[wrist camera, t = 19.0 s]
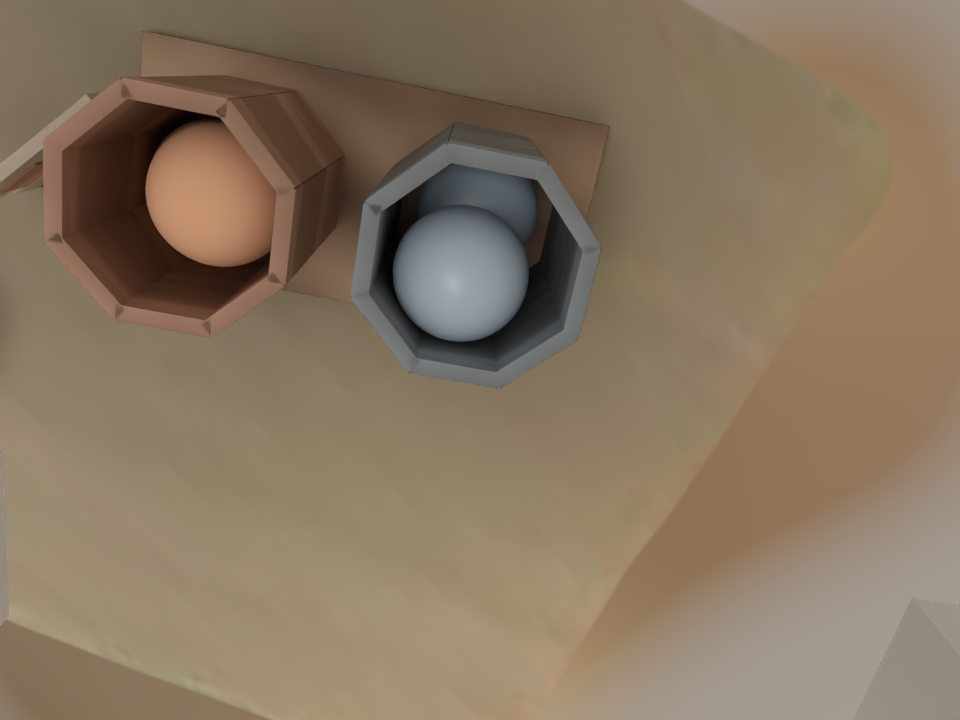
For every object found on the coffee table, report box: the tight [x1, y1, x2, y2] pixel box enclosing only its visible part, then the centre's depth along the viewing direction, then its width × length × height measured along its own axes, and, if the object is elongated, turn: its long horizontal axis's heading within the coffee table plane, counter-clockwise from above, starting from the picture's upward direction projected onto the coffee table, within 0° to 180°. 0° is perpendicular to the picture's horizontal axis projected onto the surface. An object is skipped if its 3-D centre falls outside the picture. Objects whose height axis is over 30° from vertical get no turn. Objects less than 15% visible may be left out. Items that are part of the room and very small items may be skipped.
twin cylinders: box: [0, 31, 609, 388], centre depth 36 cm, size 12×30×13 cm, turn 79°
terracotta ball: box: [145, 122, 277, 267], centre depth 33 cm, size 6×6×6 cm
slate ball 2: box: [393, 205, 529, 342], centre depth 34 cm, size 6×6×6 cm
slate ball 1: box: [418, 163, 538, 247], centre depth 38 cm, size 6×6×6 cm
